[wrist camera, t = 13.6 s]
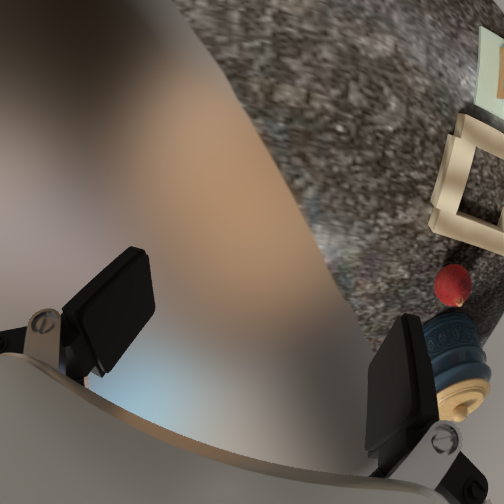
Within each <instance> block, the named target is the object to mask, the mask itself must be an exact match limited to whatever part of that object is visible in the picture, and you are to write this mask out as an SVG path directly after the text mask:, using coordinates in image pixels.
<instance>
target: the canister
mask: <svg viewBox="0 0 504 504" xmlns="http://www.w3.org/2000/svg"><path fill="white" fill-rule="evenodd" d="M422 328H423V332H424V337H425V341H426V346H427V351H428V355H429V357H430V359H431V363H432V369H433V374H434V380H435V387H436V393H437V401H438V409H439V418H440V420H447V421H451V420H454V421H456V422H461V421H463V420H464V419H465V418H466V417H467V414H469V413H471V412H472V411H474V410H475V409H476V408H477V407H478V406H479V405H480V404H481V403H482V401H483V400H484V399H485V398H486V397H487V395H488V393H489V391H490V384H489V381H490V378H491V369H490V367H489V366H488V365H487V364H486V354H485V352H484V351H483V348H482V345H481V343H480V340H479V337H478V334H477V329H476V327H475V324H474V323H473V321H472V320H471V319H470V318H469V317H468V316H467V315H465V314H463V313H459V312H450V313H445V314H442V315H439V316H437V317H435V318H433V319H431V320H430V321H428V322H427V323H426V324H424V325H423V326H422Z"/></svg>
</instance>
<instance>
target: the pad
mask: <svg viewBox="0 0 504 504" xmlns="http://www.w3.org/2000/svg"><path fill="white" fill-rule="evenodd" d="M502 47H504V39H503V38H501V37H499V36H498V35H496V34H494V33H493V32H491V31H489V30H487V29H486V28H484V27H482V26H479V52H478V68H477V79H476V87H475V95H474V102H473V104H474V105H476V106H478V107H480V108H482V109H484V110H486V111H488V112H490V113H491V114H493V115H495V116H497V117H499V118H500V119H502V120H504V103H503V102H502V101H500V100H498V99H497V98H496V96H497V89H498V79H499V65H500V48H502Z"/></svg>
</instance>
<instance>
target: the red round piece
mask: <svg viewBox="0 0 504 504" xmlns="http://www.w3.org/2000/svg"><path fill="white" fill-rule="evenodd" d="M471 285H472V283H471V278H470V276H469V273H468V271H467V270H466V268H464V267H463V266H461V265H460V264H449V265H446V266H445V267H443V268H442V269H441V270H440V271H439V272H438V274H437V276H436V279H435V282H434V289H435V294H436V295H437V297H438V298H439V300H440V301H441V302H442V303H444V304H446V305H447V306H458V307H460V306H462V305H463V303H464V302H465V301H466V300H467V298H468V296H469V294H470V292H471Z"/></svg>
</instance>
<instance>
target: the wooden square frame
mask: <svg viewBox="0 0 504 504" xmlns="http://www.w3.org/2000/svg"><path fill="white" fill-rule="evenodd" d="M476 146H477V147H479V148H481V149H483V150H485V151H487V152H489V153H491V154H493V155H495V156H497V157H499V158H501V159H503V160H504V134H503V133H501V132H500V131H498V130H496V129H494V128H492V127H490V126H489V125H487V124H485V123H483V122H481V121H479V120H477V119H475V118H473V117H471V116H468V115H466V114H461V113H458V115H457V120H456V125H455V130H454V135H450V134H448V137H447V142H446V146H445V150H444V154H443V158H442V162H441V166H440V170H439V174H438V177H437V181H436V184H435V187H434V191H433V194H432V197H431V200H430V201H431V203H432V204H433V205H434V208H433V211H432V214H431V217H430V220H429V222H428V225H429V227H430V228H431V230H432V231H433V232H434V233H437V234H441V235H444V236H447V237H450V238H453V239H456V240H459V241H463V242H466V243H469V244H472V245H474V246H477V247H480V248H483V249H486V250H489V251H492V252H494V253H497V254H500V255H503V256H504V207H503V210H502V213H501V216H500V218H499V221H498V224H497V226H496V225H494V224H491V223H489V222H486V221H484V220H481V219H479V218H476V217H474V216H471V215H468V214H466V213H463V212H460V211H458V207H459V204H460V201H461V198H462V195H463V192H464V189H465V185H466V182H467V179H468V175H469V172H470V168H471V164H472V160H473V156H474V152H475V148H476Z"/></svg>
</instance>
